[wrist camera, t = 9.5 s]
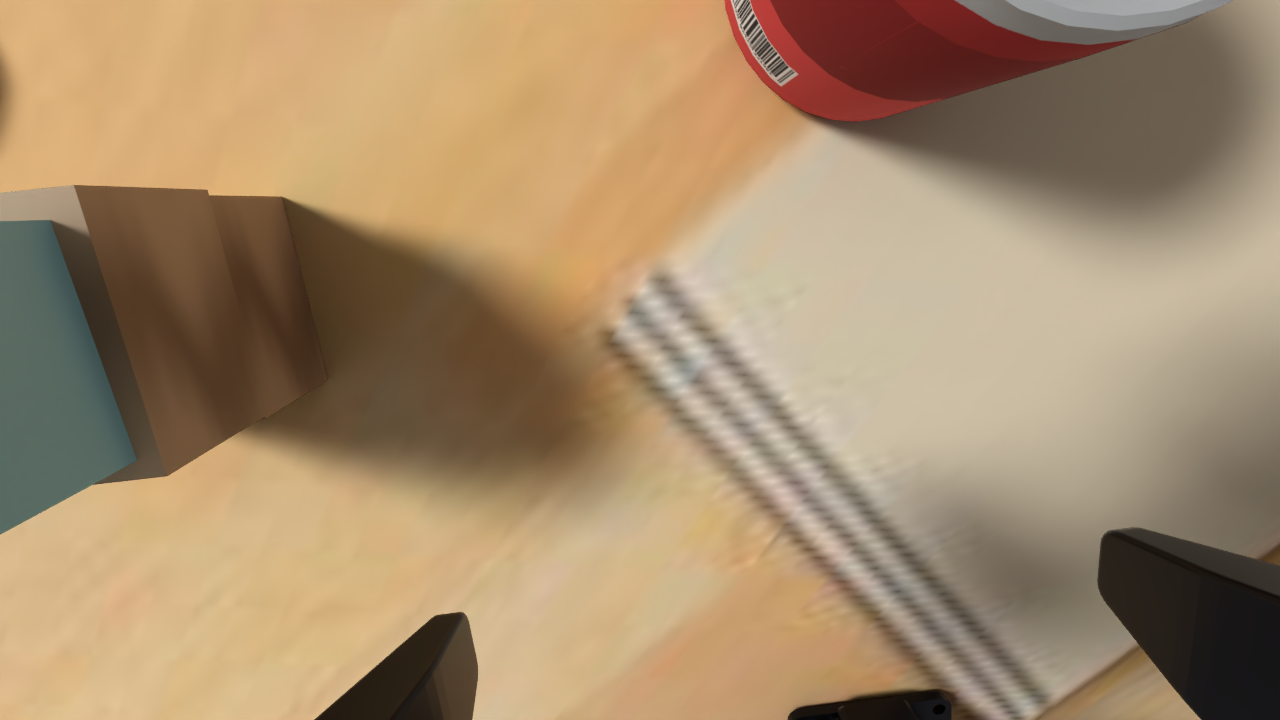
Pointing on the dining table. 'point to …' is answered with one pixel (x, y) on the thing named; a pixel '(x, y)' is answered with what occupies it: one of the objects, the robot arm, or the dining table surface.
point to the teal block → (49, 382)
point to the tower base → (270, 296)
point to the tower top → (155, 314)
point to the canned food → (928, 45)
